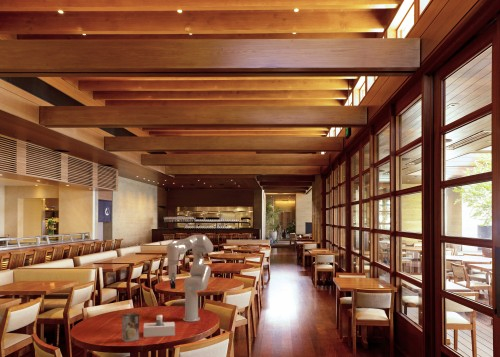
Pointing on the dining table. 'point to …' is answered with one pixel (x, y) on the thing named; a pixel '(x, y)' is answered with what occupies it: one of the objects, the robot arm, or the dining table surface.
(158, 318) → the marker peg
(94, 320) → the dining table surface
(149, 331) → the socket block
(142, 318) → the dining table surface
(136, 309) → the dining table surface
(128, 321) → the coffee box
